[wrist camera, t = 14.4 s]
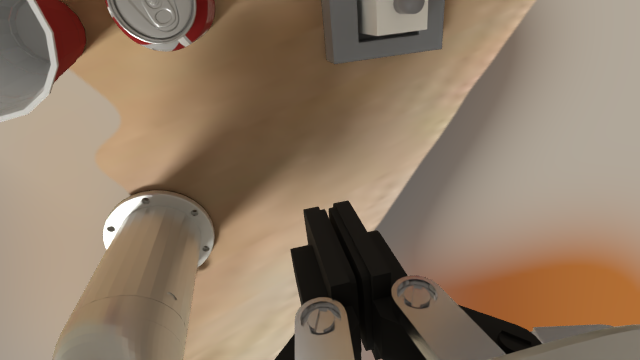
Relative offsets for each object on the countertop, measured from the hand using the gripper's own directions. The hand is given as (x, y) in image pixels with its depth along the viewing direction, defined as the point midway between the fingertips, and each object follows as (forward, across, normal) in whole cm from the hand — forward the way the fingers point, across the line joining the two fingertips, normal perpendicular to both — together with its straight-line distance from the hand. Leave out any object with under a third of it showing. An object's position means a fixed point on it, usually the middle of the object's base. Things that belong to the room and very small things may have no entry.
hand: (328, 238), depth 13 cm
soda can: (+29, +7, -9) cm, 31 cm away
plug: (+28, -13, -7) cm, 32 cm away
